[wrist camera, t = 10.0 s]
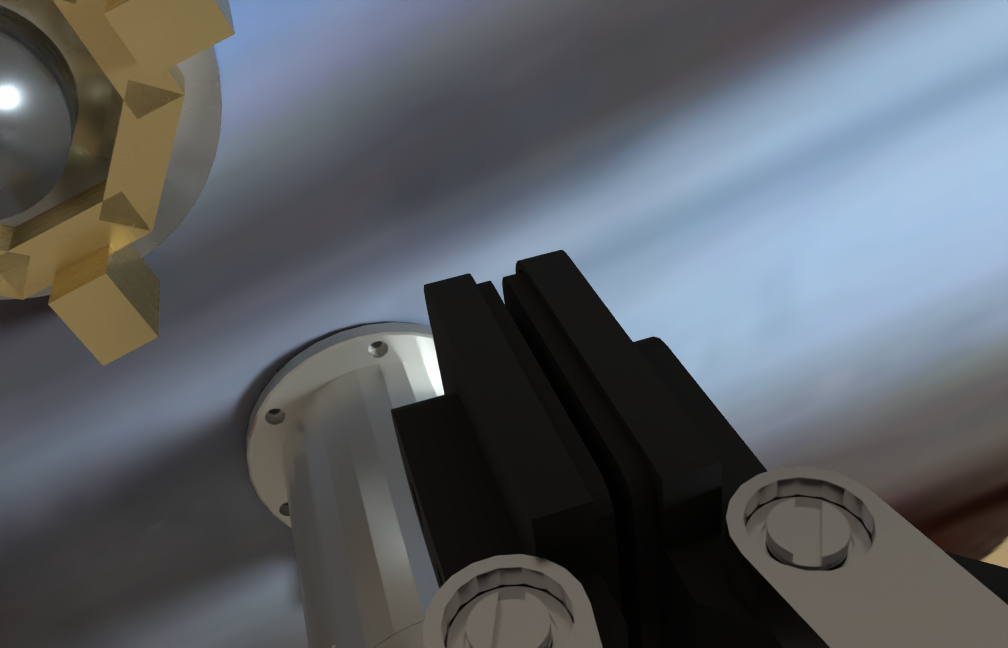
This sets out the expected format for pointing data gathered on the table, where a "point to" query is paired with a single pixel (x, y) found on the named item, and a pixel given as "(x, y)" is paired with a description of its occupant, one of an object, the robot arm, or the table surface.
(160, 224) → the flange
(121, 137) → the locking ring
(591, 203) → the table surface
